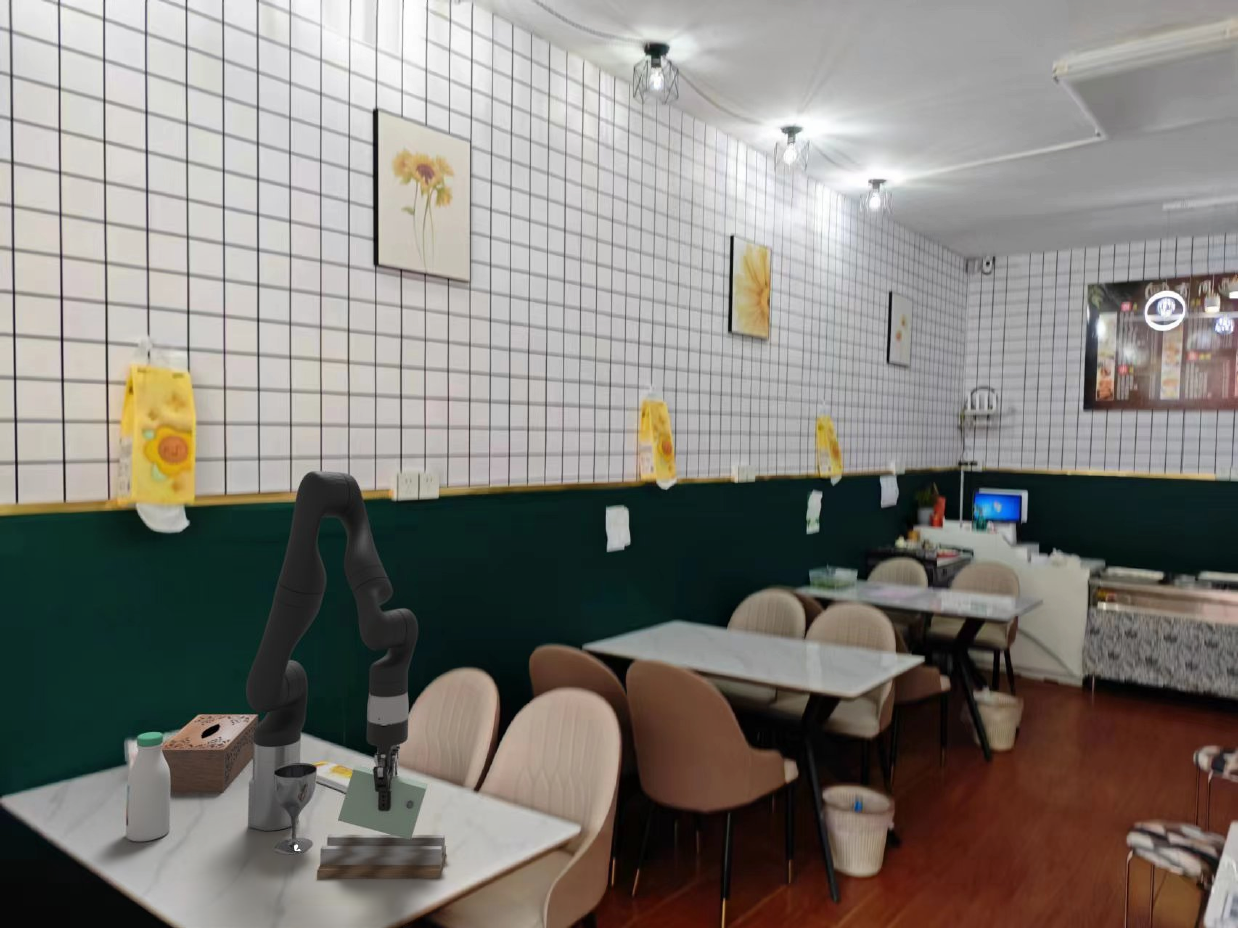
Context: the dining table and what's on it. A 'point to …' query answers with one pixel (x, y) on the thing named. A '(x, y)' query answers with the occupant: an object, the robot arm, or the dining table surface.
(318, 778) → the food package
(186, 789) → the tissue box cover
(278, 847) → the wine glass
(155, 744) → the milk bottle
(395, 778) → the door panel
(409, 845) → the door track
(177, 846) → the dining table surface
